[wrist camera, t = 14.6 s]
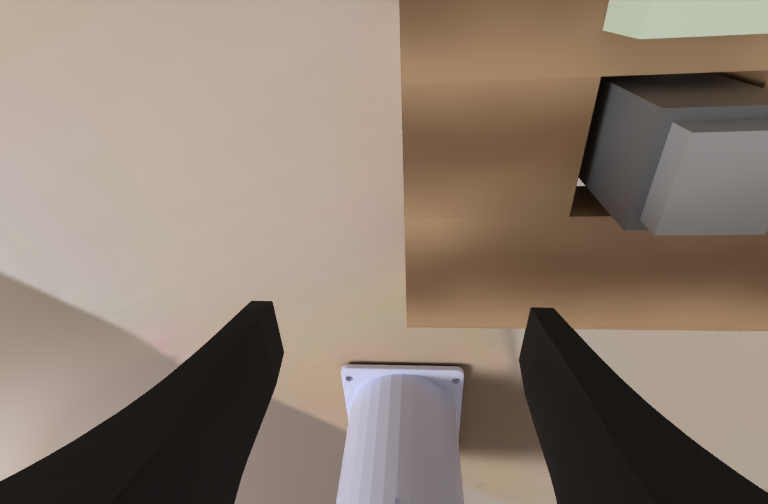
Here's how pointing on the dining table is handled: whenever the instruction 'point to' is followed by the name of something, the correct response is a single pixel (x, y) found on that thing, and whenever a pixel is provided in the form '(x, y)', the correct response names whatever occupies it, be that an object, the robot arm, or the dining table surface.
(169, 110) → the dining table surface
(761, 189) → the plug
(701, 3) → the pale green notched block
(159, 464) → the robot arm
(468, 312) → the socket board
